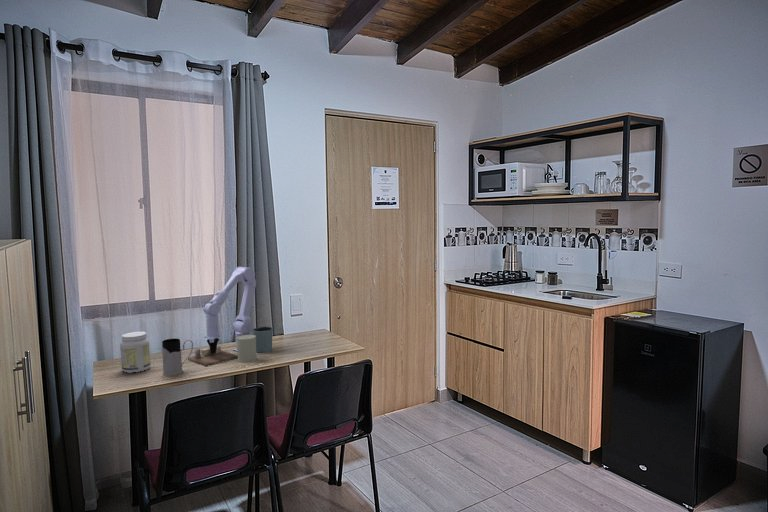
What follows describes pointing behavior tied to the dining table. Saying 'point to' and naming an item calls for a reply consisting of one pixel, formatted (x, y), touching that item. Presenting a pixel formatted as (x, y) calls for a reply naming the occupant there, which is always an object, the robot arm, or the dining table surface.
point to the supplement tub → (135, 352)
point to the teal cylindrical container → (263, 339)
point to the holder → (172, 356)
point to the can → (246, 348)
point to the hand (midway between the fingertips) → (213, 353)
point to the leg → (207, 351)
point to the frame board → (211, 357)
